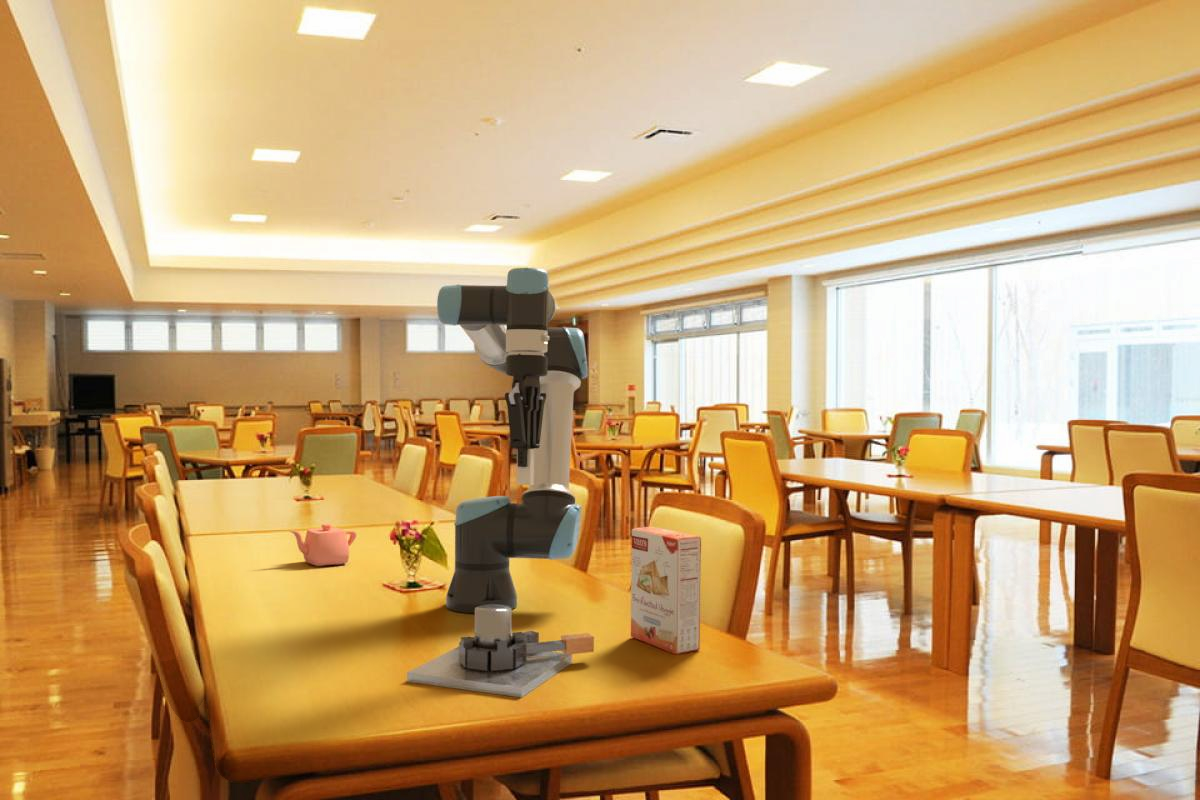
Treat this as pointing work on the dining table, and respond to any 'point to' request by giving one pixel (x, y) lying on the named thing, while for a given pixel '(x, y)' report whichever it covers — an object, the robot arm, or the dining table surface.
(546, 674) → the flange plate
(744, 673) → the dining table surface
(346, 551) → the teapot
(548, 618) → the dining table surface
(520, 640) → the wrench
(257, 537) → the dining table surface
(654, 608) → the cracker box
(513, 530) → the robot arm
